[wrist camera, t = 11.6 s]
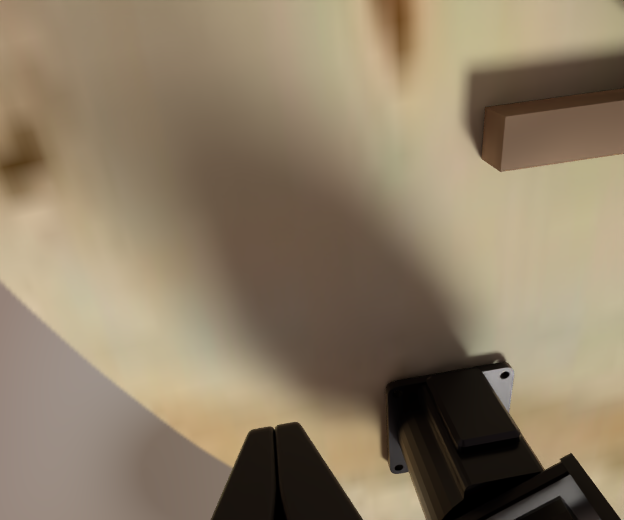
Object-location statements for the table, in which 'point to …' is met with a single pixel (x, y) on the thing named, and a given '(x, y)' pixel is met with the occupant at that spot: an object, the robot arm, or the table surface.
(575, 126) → the brown u-shaped frame
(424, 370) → the table surface
